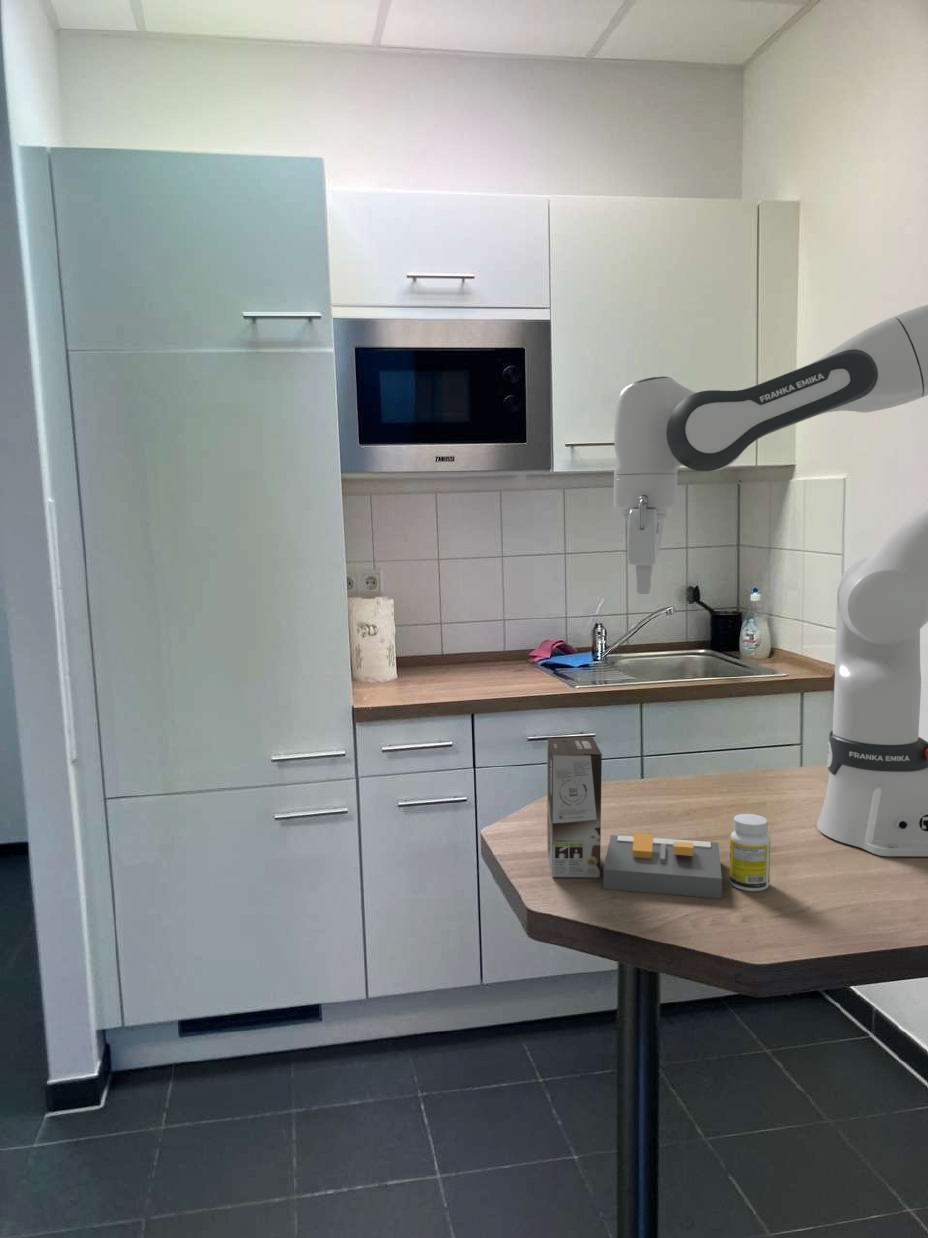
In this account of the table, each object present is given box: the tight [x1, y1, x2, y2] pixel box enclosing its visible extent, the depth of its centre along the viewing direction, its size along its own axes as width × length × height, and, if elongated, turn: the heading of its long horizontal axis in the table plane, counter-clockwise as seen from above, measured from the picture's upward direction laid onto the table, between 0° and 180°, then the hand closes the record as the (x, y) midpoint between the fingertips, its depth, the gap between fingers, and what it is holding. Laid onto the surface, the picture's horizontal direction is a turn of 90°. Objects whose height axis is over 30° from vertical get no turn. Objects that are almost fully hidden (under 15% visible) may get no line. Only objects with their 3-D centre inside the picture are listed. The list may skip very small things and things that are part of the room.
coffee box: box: [546, 736, 603, 879], centre depth 121 cm, size 9×6×16 cm
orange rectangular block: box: [673, 842, 693, 856], centre depth 117 cm, size 2×4×1 cm, turn 167°
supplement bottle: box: [729, 813, 771, 892], centre depth 114 cm, size 5×5×8 cm
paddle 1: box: [633, 832, 654, 859], centre depth 118 cm, size 2×4×1 cm, turn 167°
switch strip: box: [602, 834, 723, 899], centre depth 118 cm, size 14×12×3 cm
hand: (643, 593), depth 133 cm, fingers closed
